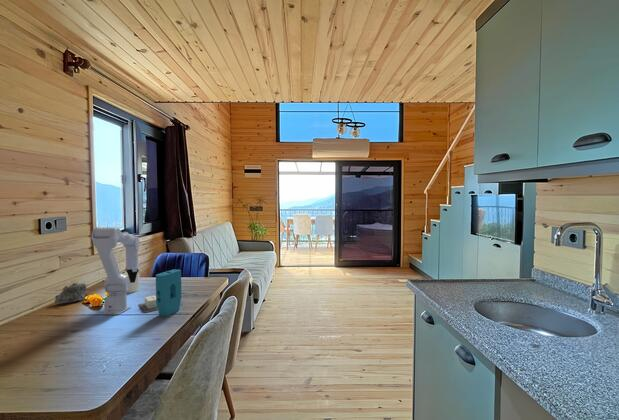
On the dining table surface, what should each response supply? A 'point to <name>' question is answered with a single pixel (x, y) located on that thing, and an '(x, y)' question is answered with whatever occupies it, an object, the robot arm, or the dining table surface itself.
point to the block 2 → (168, 292)
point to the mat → (146, 308)
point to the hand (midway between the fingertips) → (132, 282)
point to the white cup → (134, 284)
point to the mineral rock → (72, 294)
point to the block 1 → (150, 302)
